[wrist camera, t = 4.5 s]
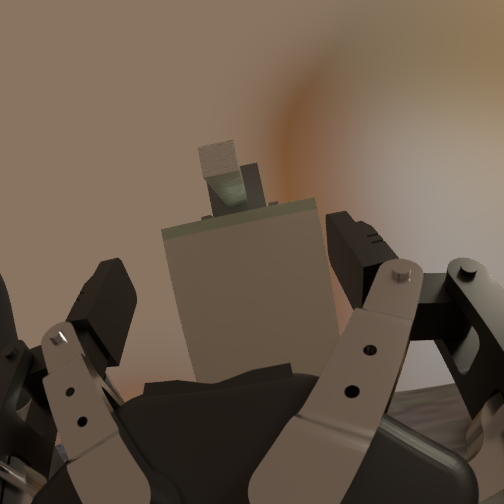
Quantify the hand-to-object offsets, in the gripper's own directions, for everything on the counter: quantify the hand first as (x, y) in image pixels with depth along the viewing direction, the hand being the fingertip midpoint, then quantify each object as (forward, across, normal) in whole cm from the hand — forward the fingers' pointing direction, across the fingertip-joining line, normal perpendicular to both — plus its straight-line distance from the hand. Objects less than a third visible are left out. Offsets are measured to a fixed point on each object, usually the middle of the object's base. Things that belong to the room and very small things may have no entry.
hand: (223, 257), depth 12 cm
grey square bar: (+18, 0, +7) cm, 19 cm away
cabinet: (+6, 0, +37) cm, 37 cm away
